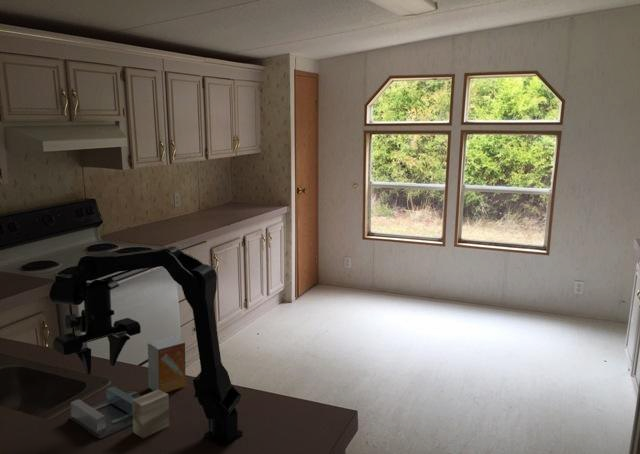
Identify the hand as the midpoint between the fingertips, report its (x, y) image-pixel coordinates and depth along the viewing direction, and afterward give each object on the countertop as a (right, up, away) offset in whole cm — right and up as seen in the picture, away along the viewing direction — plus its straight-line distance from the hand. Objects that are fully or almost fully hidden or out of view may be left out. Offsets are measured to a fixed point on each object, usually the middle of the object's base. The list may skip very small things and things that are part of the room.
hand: (100, 369), depth 120 cm
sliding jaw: (+3, -11, +6) cm, 13 cm away
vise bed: (+2, -13, +5) cm, 13 cm away
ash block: (+12, -14, -1) cm, 19 cm away
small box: (+10, -11, +20) cm, 25 cm away
